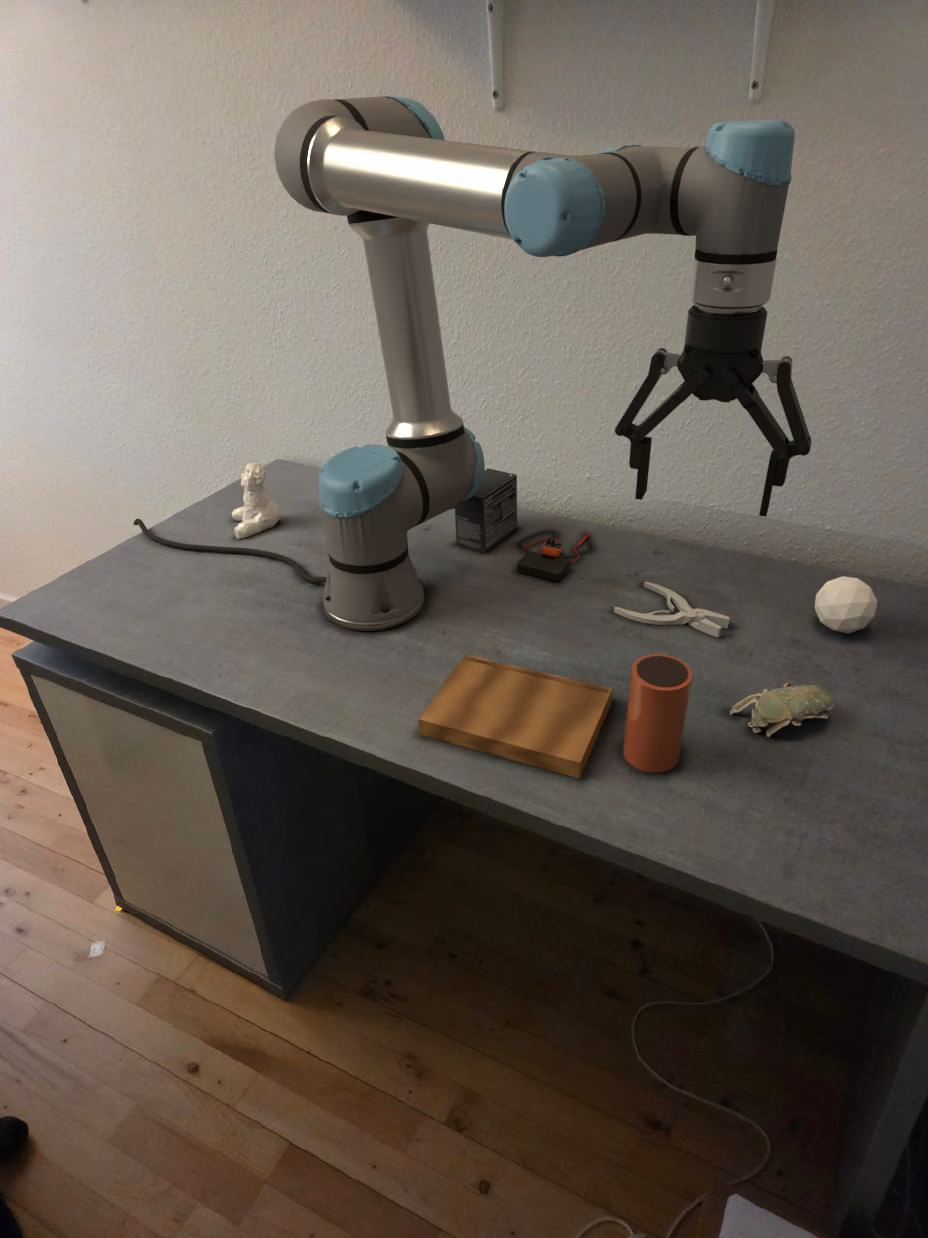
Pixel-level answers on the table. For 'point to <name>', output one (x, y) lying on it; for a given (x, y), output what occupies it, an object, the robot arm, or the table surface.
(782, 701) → the decorative insect model
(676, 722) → the pen cup
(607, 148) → the robot arm
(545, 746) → the oak board
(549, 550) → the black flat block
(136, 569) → the table surface
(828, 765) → the table surface
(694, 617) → the pliers
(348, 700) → the table surface
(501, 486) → the small box
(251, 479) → the sitting furry creature
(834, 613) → the geometric ball
